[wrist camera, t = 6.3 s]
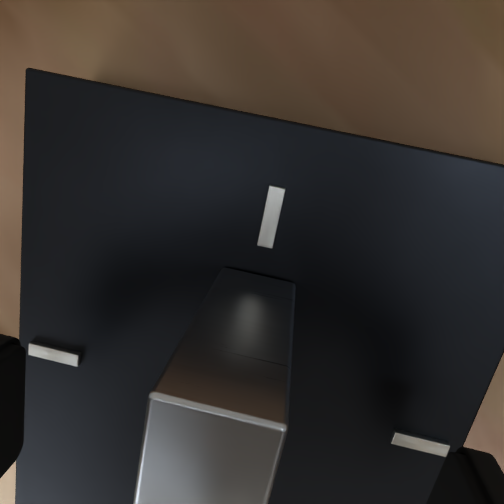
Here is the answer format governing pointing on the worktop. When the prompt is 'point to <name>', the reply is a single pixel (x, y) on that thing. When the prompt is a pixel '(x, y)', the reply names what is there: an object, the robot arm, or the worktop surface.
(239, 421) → the lever
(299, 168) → the tap deck
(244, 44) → the worktop surface
